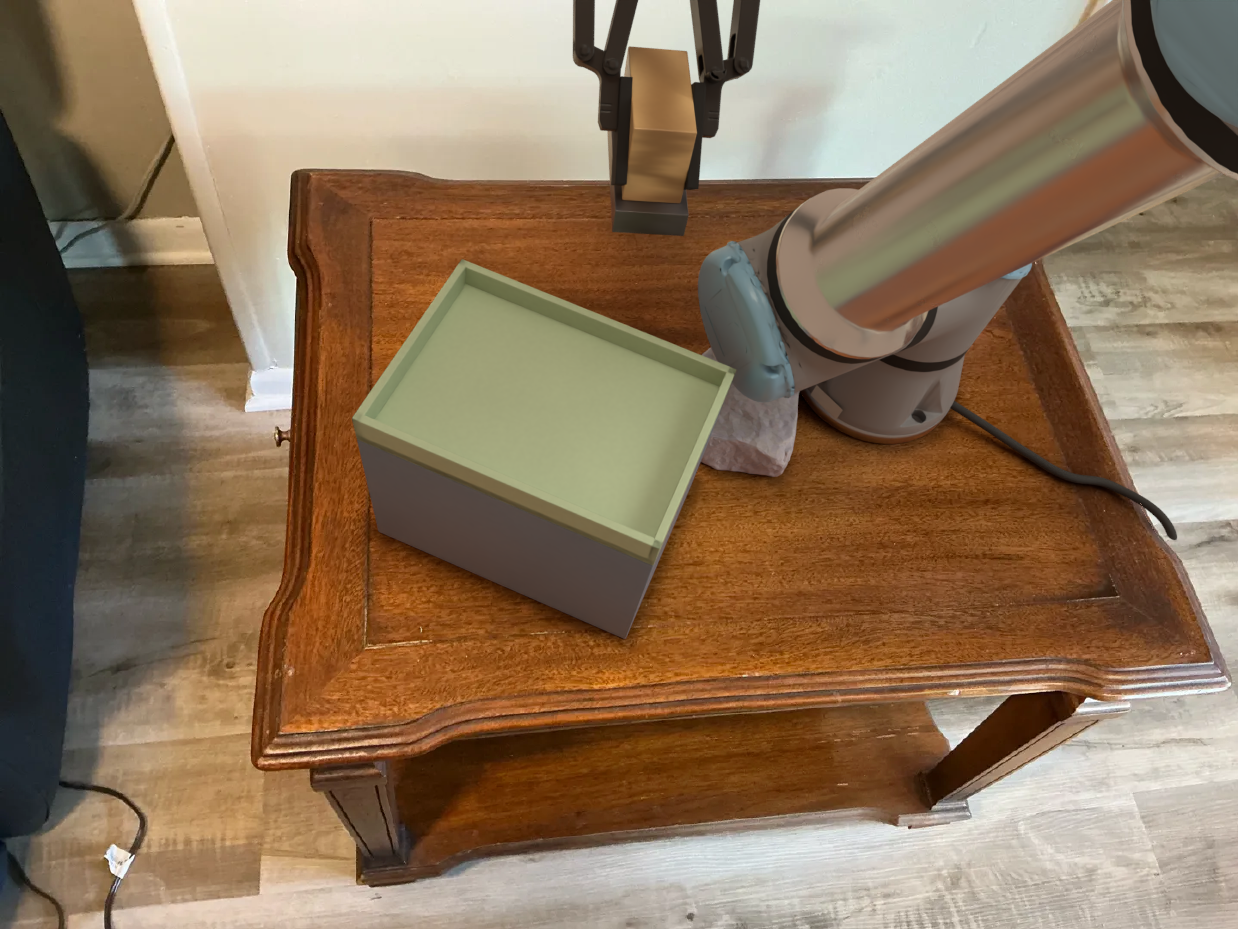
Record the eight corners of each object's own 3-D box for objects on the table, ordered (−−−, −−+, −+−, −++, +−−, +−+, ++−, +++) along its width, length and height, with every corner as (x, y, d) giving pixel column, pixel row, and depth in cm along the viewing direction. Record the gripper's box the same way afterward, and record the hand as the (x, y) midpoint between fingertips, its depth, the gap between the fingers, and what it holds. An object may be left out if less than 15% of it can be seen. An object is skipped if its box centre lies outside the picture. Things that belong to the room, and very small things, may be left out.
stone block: (675, 471, 81) (790, 485, 79) (674, 439, 77) (795, 452, 76) (694, 368, 88) (801, 378, 86) (694, 333, 84) (806, 343, 82)
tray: (728, 390, 67) (737, 369, 65) (653, 566, 59) (659, 549, 57) (462, 282, 69) (461, 258, 66) (356, 439, 61) (351, 418, 59)
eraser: (673, 136, 69) (693, 41, 62) (683, 236, 64) (706, 144, 57) (607, 132, 69) (620, 35, 62) (612, 232, 64) (626, 138, 57)
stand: (691, 483, 79) (728, 390, 67) (625, 639, 71) (653, 566, 59) (466, 389, 81) (462, 282, 69) (378, 531, 73) (356, 439, 61)
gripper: (798, -177, 60) (764, 195, 66) (535, -207, 58) (524, 180, 64) (837, -231, 53) (795, 193, 59) (538, -267, 51) (525, 176, 57)
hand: (654, 186), depth 62 cm, fingers closed on eraser, 4 cm apart
